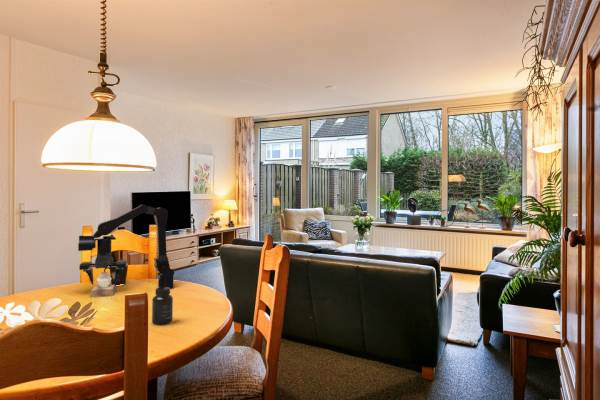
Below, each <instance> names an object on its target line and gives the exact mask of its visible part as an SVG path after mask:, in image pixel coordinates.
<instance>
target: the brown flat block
mask: <svg viewBox="0 0 600 400" xmlns="http://www.w3.org/2000/svg"><path fill="white" fill-rule="evenodd" d="M116 292H117V286H116V285H111V284H109V286H108V287H105V288H100V287H99V285H94V286H93V287H92V288H91V290H90V298H101V297H102V298H103V297H113V296H115V293H116Z"/></svg>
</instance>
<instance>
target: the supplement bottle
mask: <svg viewBox="0 0 600 400" xmlns="http://www.w3.org/2000/svg"><path fill="white" fill-rule="evenodd" d="M154 291H155V292H154V293H155V295H154V296H153V298H152V300H151V323H152V325H155V326H166V325H169V324H170V323H172V322H173V319H174V318H173V317H174V315H173V313H174V311H173V309H174V304H173V303H174V300H173V296H172V295H171V288H169V287H156V288H155V290H154Z"/></svg>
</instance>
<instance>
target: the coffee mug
mask: <svg viewBox="0 0 600 400" xmlns="http://www.w3.org/2000/svg"><path fill="white" fill-rule="evenodd" d="M116 268H117V267H116V266H113V267H107V268H103V272H106V270H107V269H108V270H109V276H110V277H111V278H112V280H111V282H110V285H111V284H112V285H120V284H125V283H126V282H127V276H128V268H129V264H128V263H127V267H126V268H124V269H123V270H121V271H120V273H119V275H118V278H117V280H116V283H114V279H115V272H116ZM125 285H126V284H125Z"/></svg>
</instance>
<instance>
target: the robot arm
mask: <svg viewBox="0 0 600 400" xmlns="http://www.w3.org/2000/svg"><path fill="white" fill-rule="evenodd" d="M142 214H146V215H149V216H150V215H151V216H153V218H154V222H155V225H156V241H157V243H156V245H157V256H156V257H154V258H153V260H154V264H153V267H154V268H155V270H156V271H157V272H158V273H160V275H159V278H158V286H157V288H159V287H169V288H170V289H174V287H175V286H174V275H175V271H174V269H172V268H171V265H170V262H169V257H168V254H167V233H166V231H167V229H166V226H167V222H168V216H169V211H168V210H167V209H166V208H165V207H153V206H148V205H146V204H139V205H138V206H137V207H135V208H133V209H132V210H129V211H127V212H125V213H124V214H123V213H122V214H121V215H120V216H118V217H115V218H113V219H109V220H106V221H103V222H100V223H99V224H98V225H97V229H96V231H95V232H94V233H93V235H79V236H78V243H77V245H78V246H77V249H78V250H77V251H78V252H84V251H86V252H87V251H94V250H93V249H95V248H96V258H95V261H94V262H92V261H83V262H81V263H80V264H79V271H82V272H85V273H86V274H87V276H88V279H89V281H90V283H91V285H94V269H93V268H95V269H97V270H98V269H105V268H107V267H109V268H110V267H113V266H116V267H117V268H116V272H115V279H114V283H116V280H117V278H118V275H119V273H120V271H121V270H123V269H124V268H126V267H127V264H128V261H127V260H126V259H125V260H124V259H123V260H122V259H121V260H120V259H119V260H117V261H116V262H114V258H113V256H112V241H115V240H116V239H117V238H116V237H115V236H114V235H113V234H111V233H112V232H114V231H115V230H117V228H119V227H120V226H121V225H123V224H126V223H127V222H129V221H131V220H133V219H135V218H137V217H138V216H141V215H142ZM109 234H110V235H109ZM101 237H102V238H101ZM96 243H97V244H96ZM107 269H108V268H107Z"/></svg>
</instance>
